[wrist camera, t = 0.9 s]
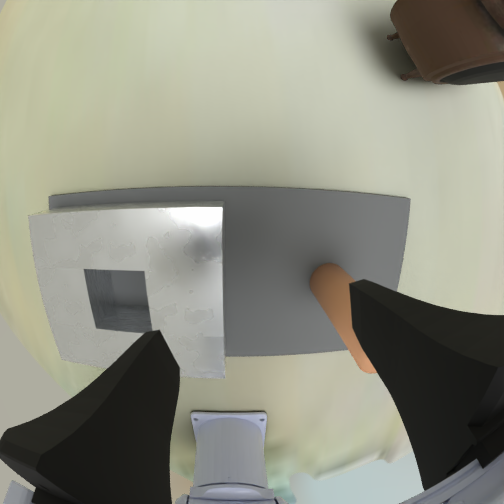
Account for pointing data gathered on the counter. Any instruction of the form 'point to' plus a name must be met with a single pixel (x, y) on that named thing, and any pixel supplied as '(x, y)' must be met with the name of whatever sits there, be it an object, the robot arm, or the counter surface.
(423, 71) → the alarm clock
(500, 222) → the counter surface
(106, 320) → the hole block
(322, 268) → the pin
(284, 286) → the rubber mat
